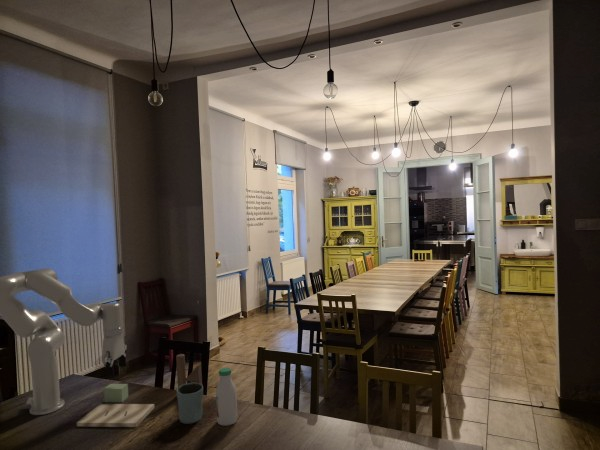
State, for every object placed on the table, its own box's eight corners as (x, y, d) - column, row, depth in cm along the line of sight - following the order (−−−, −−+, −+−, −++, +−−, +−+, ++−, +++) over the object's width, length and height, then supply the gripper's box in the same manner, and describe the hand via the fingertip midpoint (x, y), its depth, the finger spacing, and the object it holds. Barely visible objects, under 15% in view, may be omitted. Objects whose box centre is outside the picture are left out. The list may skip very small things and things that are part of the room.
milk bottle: (241, 417, 156) (239, 367, 156) (230, 428, 149) (227, 374, 149) (225, 414, 160) (222, 364, 159) (213, 424, 153) (210, 372, 152)
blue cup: (185, 410, 164) (184, 381, 164) (209, 412, 162) (207, 382, 162) (173, 424, 154) (171, 393, 154) (197, 425, 152) (196, 394, 152)
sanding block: (104, 403, 174) (103, 388, 174) (111, 398, 179) (110, 383, 179) (122, 403, 173) (121, 388, 173) (128, 398, 178) (127, 383, 178)
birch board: (76, 426, 155) (76, 422, 155) (99, 407, 170) (99, 403, 170) (136, 427, 153) (136, 423, 153) (154, 407, 168) (154, 404, 168)
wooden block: (199, 398, 175) (197, 357, 174) (176, 397, 177) (174, 356, 176) (203, 394, 179) (200, 354, 178) (180, 393, 180) (178, 353, 180)
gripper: (115, 326, 184) (119, 363, 185) (92, 338, 167) (96, 379, 167) (131, 325, 183) (134, 362, 184) (109, 338, 166) (113, 379, 167)
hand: (116, 370), depth 176 cm, fingers open, 9 cm apart
